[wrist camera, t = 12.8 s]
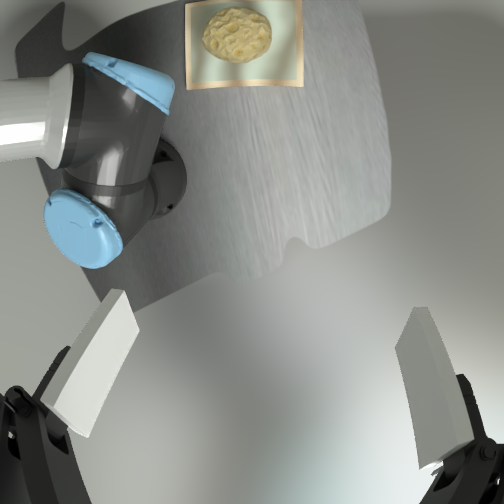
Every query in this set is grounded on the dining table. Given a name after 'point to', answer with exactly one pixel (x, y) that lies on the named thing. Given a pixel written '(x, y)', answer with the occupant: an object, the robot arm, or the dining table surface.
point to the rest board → (256, 71)
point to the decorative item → (237, 34)
